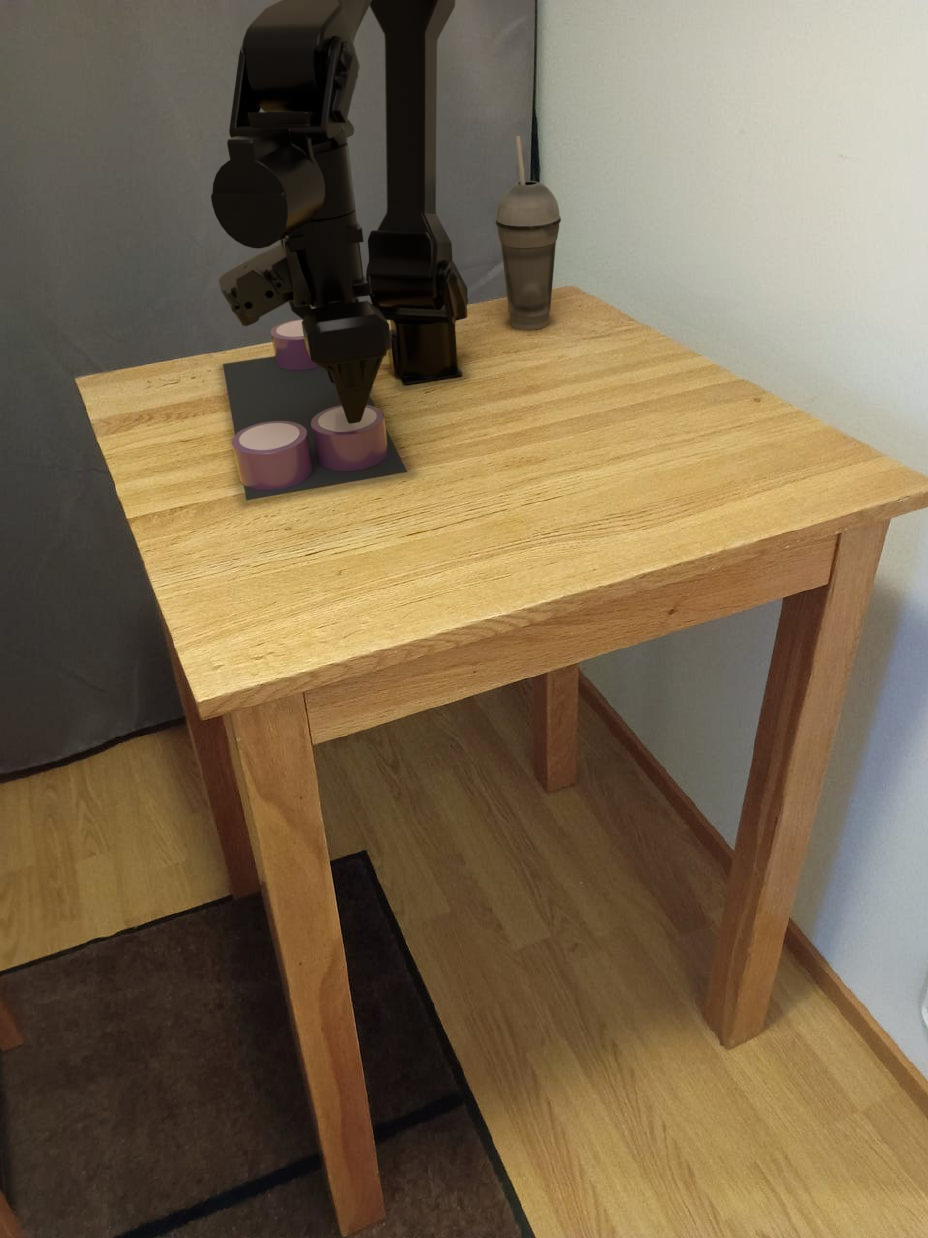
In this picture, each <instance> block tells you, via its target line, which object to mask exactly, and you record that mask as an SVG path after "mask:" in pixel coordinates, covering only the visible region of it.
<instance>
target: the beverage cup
mask: <svg viewBox="0 0 928 1238" xmlns="http://www.w3.org/2000/svg"><path fill="white" fill-rule="evenodd" d="M515 145H516V155H517V163H518V164H517V165H518V173H519V182H517V183H514V184H513V185H512V186H510V187H509V188H508V190H507V191H505V192H504V195H503V196H502V197H501V199H500V202H499V203H498V204H499V205H498V207H497V212H496V220H495V225H496V226H497V235H498V239H499V242H500V245H501V255H502V263H503V273H504V283H505V291H506V299H507V301H506V302H507V309H508V313H509V319H510V325H511V327H512V328H513V329H515V330H516V329H517V330H521V331H535V330H540V329H544V328H546V327H547V326H548V325H549V322H550V320H549V318H550V313H551V312H550V311H551V305H552V295H553V281H554V271H555V259H556V247H557V246H556V245H557V241H558V236H559V232H560V224H561V221H562V218H561V216H560V207H559V204H558V201H557V199H556V196H555V195H554V194H553V192H552V191H551V190H550V189H549V188H548V187H547V186H546V185H545V184H543V183H542V182H539V181H537V180H526V177H525V169H524V167H525V166H524V158H523V149H522V140H521V135H516V136H515Z"/></svg>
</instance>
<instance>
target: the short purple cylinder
mask: <svg viewBox="0 0 928 1238" xmlns="http://www.w3.org/2000/svg"><path fill="white" fill-rule="evenodd" d="M302 321H303V319H302V318H299V319H293V320H287V321H285V322H282V323H279V324H277V325H276V326H273V327H272V328H271V330H270V338H271V343H272V349H273V354H274V356H275V360H276V364H277V366H279V367H280V368H283V369H286V370H309V369H314V368H318V367H321V366H317V365H315V364H314V363H313V362H312V361H311V359H310V357H309V354H308V351H307V349H306V344H305V340H304V335H303V329H302Z"/></svg>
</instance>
